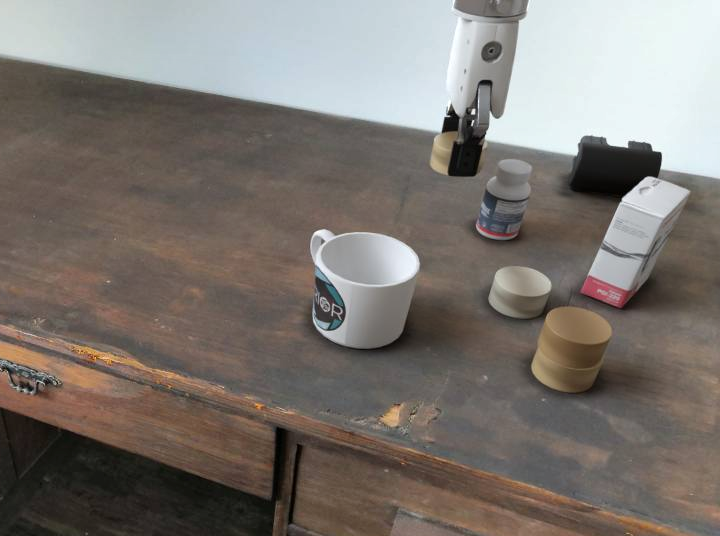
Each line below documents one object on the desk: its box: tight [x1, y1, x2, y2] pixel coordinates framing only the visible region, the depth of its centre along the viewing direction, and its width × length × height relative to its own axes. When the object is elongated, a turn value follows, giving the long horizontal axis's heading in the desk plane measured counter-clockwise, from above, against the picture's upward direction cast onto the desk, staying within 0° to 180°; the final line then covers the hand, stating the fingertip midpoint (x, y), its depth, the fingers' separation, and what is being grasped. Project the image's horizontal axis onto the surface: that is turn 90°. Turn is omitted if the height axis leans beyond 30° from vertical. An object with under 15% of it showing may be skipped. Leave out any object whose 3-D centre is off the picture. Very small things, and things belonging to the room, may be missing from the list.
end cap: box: [567, 134, 663, 198], centre depth 105 cm, size 10×7×7 cm
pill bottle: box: [475, 158, 533, 241], centre depth 96 cm, size 5×5×9 cm
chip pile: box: [530, 306, 613, 394], centre depth 76 cm, size 6×6×6 cm
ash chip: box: [488, 265, 553, 320], centre depth 86 cm, size 6×6×3 cm
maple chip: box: [429, 131, 488, 178], centre depth 91 cm, size 6×6×3 cm
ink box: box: [580, 177, 692, 309], centre depth 86 cm, size 9×5×12 cm, turn 137°
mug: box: [309, 228, 421, 350], centre depth 83 cm, size 13×10×8 cm
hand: (456, 161), depth 91 cm, fingers closed on maple chip, 6 cm apart
